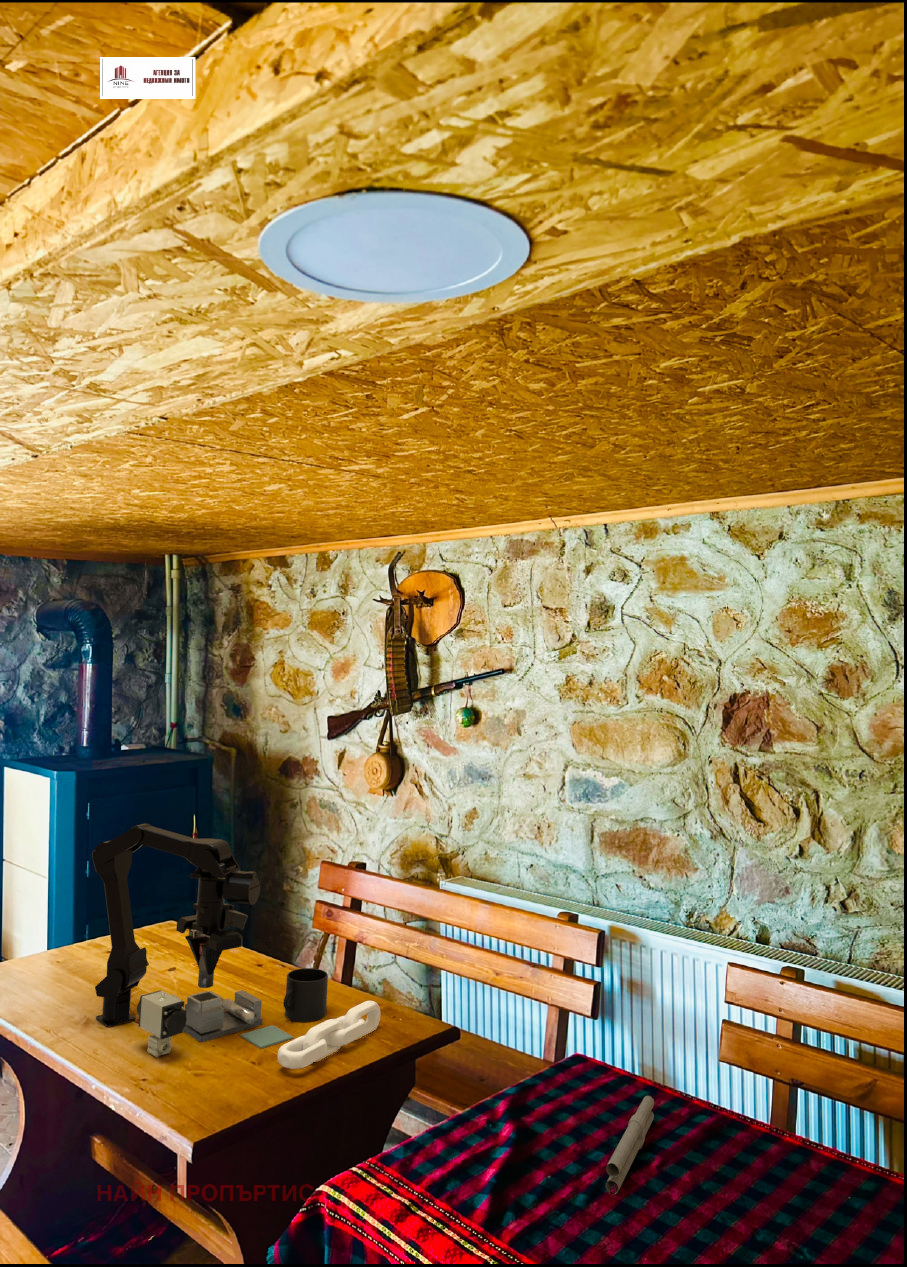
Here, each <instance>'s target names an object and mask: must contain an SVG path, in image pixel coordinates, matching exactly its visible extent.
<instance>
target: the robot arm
mask: <svg viewBox="0 0 907 1267" xmlns="http://www.w3.org/2000/svg"><path fill="white" fill-rule="evenodd" d="M142 846H144V847H149V848H152V849H155V850H159V851H162V852H165V853H169V854H172V855H175V856H178V857H179V856H180V857H182V858H184V859H186V860H187V861H188V862H189V863H190V864H191V865H193V866H195V867H196V869H195V870H194V871H193V872H192V873H190V874H189V878H190V879H197V880H198V888H197V890H198V891H197V901H196V902H195V903H193V905H192V906H193V907H192V908H193V909H194V910H195V911H196V914H194V915H188V916H182V917H180V918H179V919H178V920H177V922H176V932H178V933H180V934H185V933H186V931H187V930H188V935H186V936H184V938H185V940H186V941H187V943H188V946H189V948H190V950H191V952H192V955H193V957H194V959H195V962H196V964H197V967H198V968H199V962H200V954H199V947H200V943H201V942H203V941H208V944H204V945H201V948H202V953H203V957H204V962H205V966H206V970H207V974H208V975H212V974H213V972H214V973H215V969H216V967H217V965H218V962H219V960H220V957H221V956H222V955H221V954H222V953H223V951H227V950H232V949H238V948H242V947H243V939H244V938H243V935H242V934H240V933H239V932H237V931H235V930H233V929H230V927H233V928H236V929H238V930H241V931H244V929H245V925H246V923H247V920H248V917H249V915H247V914H246V913H243V912H240V911H237V910H235V905H232V904H231V903H233V904H234V903H235V904H243V905H252V906H254V905H255V904H256V903H257V901H258V900H259V897H260V893H261V884H260V880H259V878H258V877H257V874H258V873H257V871H251V870H250V871H243V870H241V867H240V865H239V863H238V862H237V860H236V859H235V857H234V855H233V853H232V848H231V846H230V843H229V842H228V841H226V840H225V839H221V838H220V839H218V838H195V837H191V836H188V835H184V834H180V833H177V832H173V831H169V830H167V829H163V828H160V827H156V826H153V825H151V824H149V823H142V824H138V825H137V824H136V825H134V826H132V827H131V828H130V829H128V830H127V831H125V832H124V833H122V834H121V835H118V836H116V837H114V838H113V839H111V840H107V841H103V842H100V843H98V844H97V845H96V846H95V848H93V850H92V854H91V855H92V856H91V858H92V861H93V866H94V869H95V870H94V871H95V872H96V874H97V875H98V876H99V878H100V879H101V881H102V882H103V886H104V893H105V901H106V910H107V918H108V928H109V935H110V944H111V949H110V952H109V955H108V959H107V961H106V976H105V977H104V978H103V979H102V980H101V981H100V982H98V983H97V984H96V985H95V987H94V988H95V989H94V990H95V994H96V997H98V998H103V999H102V1000H103V1001H102V1014H99V1015H96V1016H95V1019H96V1020H97V1021H99V1022H100V1023H102V1024H103V1025H104V1026H105V1027H108V1028H109V1027H113V1026H118V1025H121V1024H125V1023H129V1022H134V1021H136V1016H134V1015H133V1014H132V1013H131V1001H132V999H131V998H132V989H134V988H136V987H138V986H139V984H140V981H141V980H142V979H143V978H144V976H145V975H146V973H147V967H148V966H150V964H149V961H148V958H147V951H148V950H147V948H146V947H139V945H138V944H137V942H136V938H135V931H134V930H135V929H134V923H133V916H132V914H133V913H132V907H131V900H130V899H131V898H130V889H129V882H128V876H129V873H130V870H131V867H132V864H133V853H134V852H136V851H137V850H139V849H140V848H141V847H142ZM223 866H225V867H223ZM225 900H226V902H228V903H226V902H225ZM222 930H223V931H222Z"/></svg>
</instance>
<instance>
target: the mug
mask: <svg viewBox="0 0 907 1267" xmlns="http://www.w3.org/2000/svg"><path fill="white" fill-rule="evenodd" d="M328 979H329V974H328V973H327V971H325V970H324V969H319V968H313V967H310V968H309V967H305V968H304V967H303V968H302V967H301V968H297V969H294V970H291V971H289V972H288V973H287V975H286V984H285V985H286V987H285V995H284V998H283V1008H284V1015H285V1018H287V1020H288V1019H289V1020H291V1021H294V1022H299V1023H311V1022H316V1021H318V1020H320V1019H323V1018H324V1017H325V1016H326V1015H327V1002H328V1000H327V999H328V982H329V980H328Z"/></svg>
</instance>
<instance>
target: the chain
mask: <svg viewBox="0 0 907 1267" xmlns="http://www.w3.org/2000/svg"><path fill="white" fill-rule="evenodd" d="M366 1015H367V1016H366ZM363 1016H366V1019H365V1020H364V1018H363ZM380 1020H381V1007H380V1006H379V1004H378V1003H377V1002H376V1001H373V1000H366V1001H363V1002H362V1003H359V1004H358V1005H355V1006H353V1007H351V1008H349V1010H348V1011H347V1012H346V1014H345V1015H341V1016H338V1017H337V1018H330V1019H327V1020H324V1021H322V1022H321V1023H319V1024H316V1025H314V1026H313V1027H311V1028H310V1029H308V1031H307V1032H306V1034H304V1035H301V1036H299V1037H296V1038H293V1039H291V1041H290V1040H289V1042H286V1043H285V1044H282V1045H281V1046H280V1048H279V1049H278V1050H277V1062H278V1064H279V1065H280V1066H282V1067H283V1068H286V1069H290V1070H291V1069H292V1070H296V1069H297V1070H298V1069H299V1070H300V1069H303V1068H305V1067H307V1066H309V1065H311V1064H314V1063H313V1062H316V1061H319V1060H321V1059H322V1058H325V1057H326V1056H328V1055H330V1054H332V1053H333V1052H336V1051H337V1050H338V1049H339V1050H340V1048H341V1047H342V1046H346V1045H348V1044H351V1043H353V1042H355V1041H354V1040H356V1039H358V1038H361V1037H362V1036H364V1035H366V1034H368V1033H370V1032H372V1031H374V1030H375V1031H376V1030H377V1028H378V1027H379V1024H380ZM375 1031H374V1032H375ZM339 1050H338V1051H339ZM338 1051H337V1052H338ZM337 1052H336V1053H337ZM332 1055H333V1054H332ZM325 1059H326V1058H325Z"/></svg>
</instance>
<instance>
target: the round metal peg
mask: <svg viewBox="0 0 907 1267" xmlns="http://www.w3.org/2000/svg"><path fill="white" fill-rule="evenodd" d="M204 944H208V941H203V942H201V943H200V947H199V954H200V962H199V967H198V980H197V988H201V989H209V988H212V987H213V986H214V979H215V978H214V976H215V971H214V972H213V974H212V975H208V974H207V970H206V966H205V962H204V957H203V953H202V948H201V945H204Z"/></svg>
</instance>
